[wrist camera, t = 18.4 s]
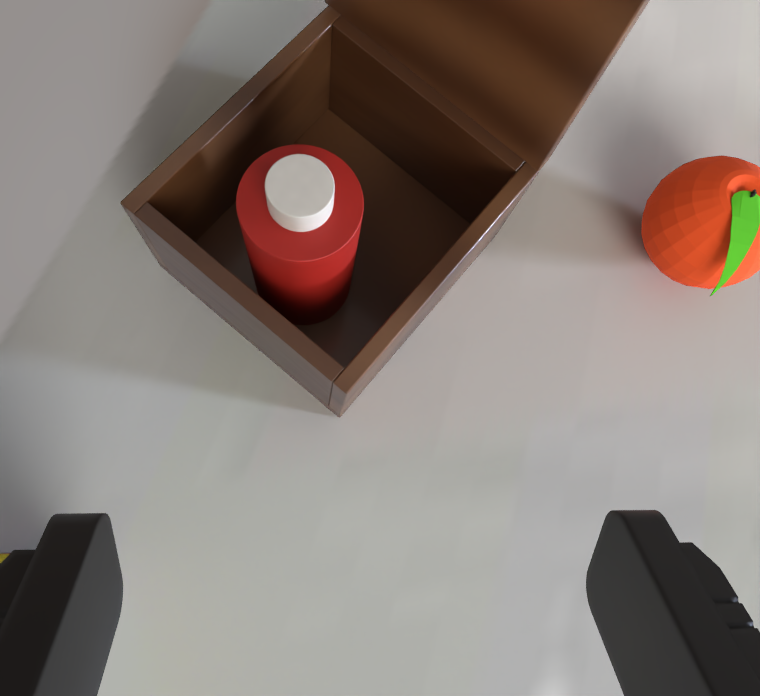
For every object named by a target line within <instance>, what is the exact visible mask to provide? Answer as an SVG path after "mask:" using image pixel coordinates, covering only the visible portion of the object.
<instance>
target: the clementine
mask: <svg viewBox="0 0 760 696" xmlns="http://www.w3.org/2000/svg"><path fill="white" fill-rule="evenodd" d="M641 235H642V239H643V243H644V247H645V250H646V252H647V253H648V255H649V257H650V259H651V261H652V262H653V263H654V264H655V265H656V267H657V268H658V269H659V270H660V271H661V272H662V273H664V274H665V275H666V276H668V277H669V278H671V279H672V280H674V281H676V282H679V283H681V284H684V285H686V286H693V287H700V288H707V289H712V288H715V289H714V290H713V292H712V294H711V295H713V294H714V293H715V292H716V291H717V290H718V289H719V288H720V287H726V286H729V285H733V284H736V283H738V282H741V281H743V280H745V279H747V278H750V277H751V276H752V275H753V274H755V273H756V272H757V271H759V270H760V167H758V166H757V165H755V164H752V163H750V162H747V161H745V160H742V159H739V158H734V157H728V156H714V157H706V158H700V159H696V160H694V161H691V162H688V163H686V164H683V165H682V166H680V167H679V168H677V169H675V170H674V171H672V172H671V173H670V174H669V175H667V176H666V177H665V178H663V179H662V180H661V182H660V183H659V184H658V186H657V187H656V188H655V190H654V191H653V193H652V194H651V196H650V197H649V199H648V200H647V203H646V206H645V209H644V212H643V217H642V234H641ZM711 295H710V296H711Z"/></svg>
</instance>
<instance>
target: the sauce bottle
mask: <svg viewBox="0 0 760 696" xmlns="http://www.w3.org/2000/svg"><path fill="white" fill-rule="evenodd" d="M236 209H237V215H238V219H239V223H240V227H241V230H242V234H243V238H244V242H245V246H246V250H247V254H248V258H249V261H250V265H251V269H252V273H253V277H254V281H255V285H256V288H257V292H258V295H259V296H260V297H261V298H262V299H263V300H265V301H266V302H267V303H268V304H269V305H271V306H272V307H273V308H274V309H275V310H276V311H278V312H279V313H280V314H281V315H282V316H284V317H285V318H286V319H287V320H288V321H290V322H291V323H292V324H296V325H311V324H316V323H319V322H322V321H324V320H326V319H328V318H330V317H331V316H333V315H334V314H335V313H336V312H337V311H338V310H339V309H340V308H341V307H342V306H343V304H344V302H345V301H346V299H347V296H348V294H349V290H350V285H351V279H352V274H353V268H354V263H355V257H356V251H357V246H358V240H359V234H360V229H361V223H362V217H363V210H364V198H363V192H362V189H361V185H360V183H359V181H358V179H357V177H356V175H355V174H354V172H353V171H352V169H351V168H350V167H349V166H348V165H347V164H346V163H345V162H344V161H343V160H342V159H341V158H339V157H338V156H336V155H335V154H333V153H331V152H329V151H327V150H325V149H322V148H320V147H316V146H312V145H305V144H294V145H286V146H281V147H278V148H275V149H272V150H270V151H268V152H266V153H265V154H263V155H262V156H260V157H259V158H257V159H256V160H255V161H254V162H253V163H252V164H251V165H250V166H249V167H248V169H247V170H246V172H245V173H244V175H243V176H242V178H241V181H240V183H239V186H238V189H237V195H236Z"/></svg>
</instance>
